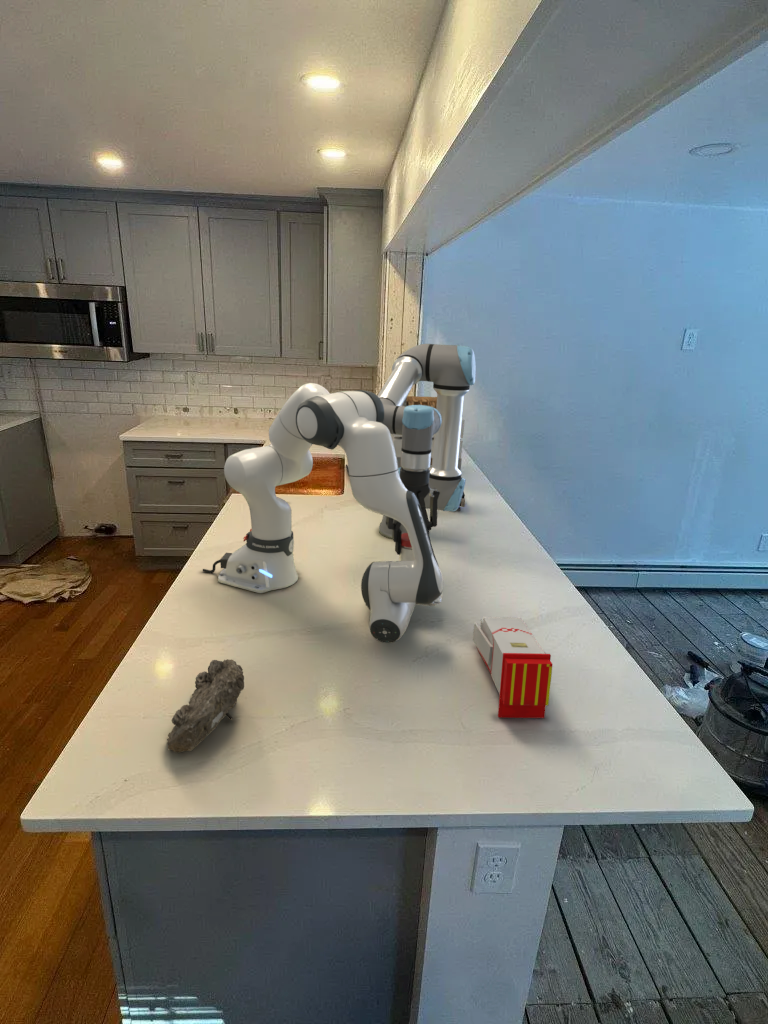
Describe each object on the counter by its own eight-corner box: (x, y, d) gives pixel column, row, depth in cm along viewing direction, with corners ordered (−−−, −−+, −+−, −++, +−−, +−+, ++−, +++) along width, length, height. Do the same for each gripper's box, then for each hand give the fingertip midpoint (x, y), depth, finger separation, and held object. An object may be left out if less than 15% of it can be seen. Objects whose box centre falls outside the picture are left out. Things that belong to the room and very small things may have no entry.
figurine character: (465, 515, 224) (460, 499, 237) (467, 498, 221) (462, 483, 234) (448, 515, 224) (444, 499, 237) (450, 498, 220) (445, 482, 234)
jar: (416, 594, 158) (420, 536, 152) (416, 603, 153) (420, 545, 147) (397, 593, 158) (400, 535, 153) (396, 602, 153) (399, 543, 147)
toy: (519, 602, 136) (561, 660, 107) (515, 654, 139) (554, 724, 109) (469, 601, 136) (497, 659, 106) (465, 653, 138) (492, 723, 109)
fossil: (192, 660, 117) (244, 628, 112) (224, 691, 120) (276, 661, 115) (142, 746, 98) (202, 712, 93) (182, 779, 101) (242, 748, 96)
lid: (417, 537, 154) (417, 531, 153) (425, 546, 148) (425, 540, 148) (395, 539, 152) (396, 533, 151) (403, 548, 146) (403, 542, 146)
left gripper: (440, 594, 139) (447, 570, 151) (360, 582, 142) (373, 560, 155) (438, 616, 141) (445, 591, 153) (359, 604, 145) (372, 581, 157)
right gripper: (445, 463, 149) (438, 544, 157) (375, 464, 144) (371, 548, 152) (455, 470, 142) (448, 555, 150) (382, 472, 137) (378, 559, 145)
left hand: (408, 575), depth 154 cm, fingers closed on jar, 5 cm apart
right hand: (409, 551), depth 151 cm, fingers closed on lid, 6 cm apart
